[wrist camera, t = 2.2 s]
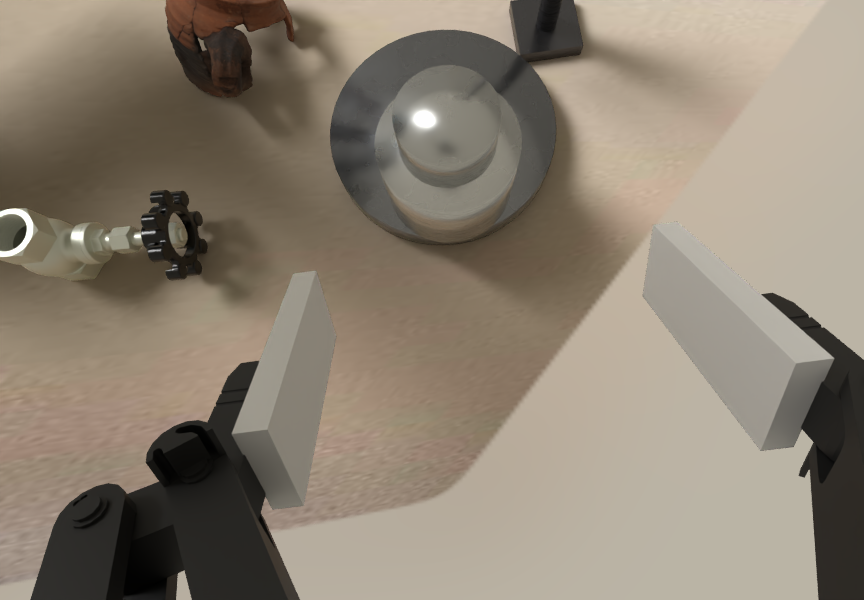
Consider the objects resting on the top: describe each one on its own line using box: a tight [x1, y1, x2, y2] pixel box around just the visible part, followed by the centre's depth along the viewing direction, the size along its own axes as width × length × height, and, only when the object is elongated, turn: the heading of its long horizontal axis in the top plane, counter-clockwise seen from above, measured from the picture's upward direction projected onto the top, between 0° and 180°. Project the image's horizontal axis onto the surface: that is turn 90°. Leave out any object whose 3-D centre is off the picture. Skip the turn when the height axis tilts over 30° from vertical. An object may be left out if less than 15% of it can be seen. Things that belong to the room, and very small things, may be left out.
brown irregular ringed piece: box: [165, 0, 294, 97], centre depth 38 cm, size 12×9×8 cm
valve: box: [0, 190, 208, 281], centre depth 34 cm, size 7×7×12 cm
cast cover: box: [374, 65, 522, 243], centre depth 30 cm, size 9×9×9 cm
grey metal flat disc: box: [330, 30, 556, 245], centre depth 37 cm, size 17×17×2 cm
